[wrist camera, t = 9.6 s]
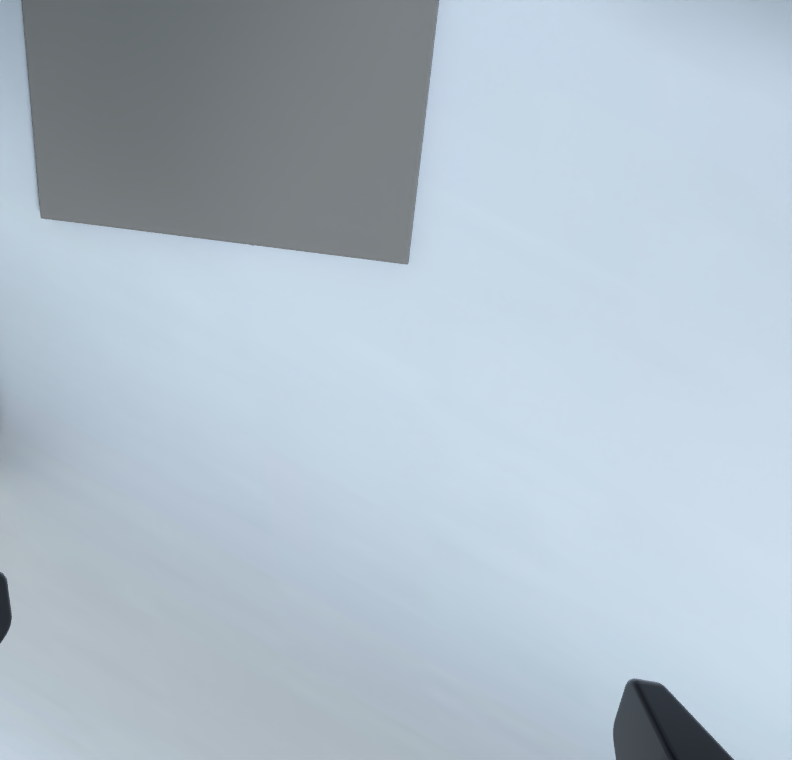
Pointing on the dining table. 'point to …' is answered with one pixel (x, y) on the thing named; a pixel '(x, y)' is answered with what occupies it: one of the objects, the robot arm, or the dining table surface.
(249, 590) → the dining table surface
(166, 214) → the mat
